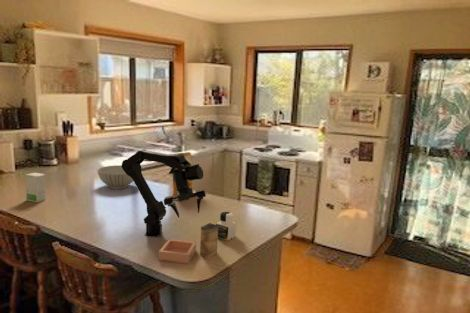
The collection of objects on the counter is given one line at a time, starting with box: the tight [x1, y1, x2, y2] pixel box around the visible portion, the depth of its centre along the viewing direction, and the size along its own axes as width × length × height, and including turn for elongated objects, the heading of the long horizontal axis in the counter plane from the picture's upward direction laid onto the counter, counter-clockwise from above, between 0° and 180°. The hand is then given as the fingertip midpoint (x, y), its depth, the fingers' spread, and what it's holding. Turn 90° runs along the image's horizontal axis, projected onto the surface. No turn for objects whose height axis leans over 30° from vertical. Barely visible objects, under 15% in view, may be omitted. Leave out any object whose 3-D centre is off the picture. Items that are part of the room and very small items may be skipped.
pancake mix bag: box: [171, 151, 193, 197], centre depth 234 cm, size 7×19×28 cm, turn 136°
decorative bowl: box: [96, 164, 134, 190], centre depth 246 cm, size 27×27×12 cm
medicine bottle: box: [215, 211, 237, 241], centre depth 173 cm, size 7×7×12 cm
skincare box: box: [25, 172, 47, 203], centre depth 209 cm, size 8×7×16 cm
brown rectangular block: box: [199, 222, 219, 259], centre depth 154 cm, size 5×6×12 cm
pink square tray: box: [158, 238, 197, 265], centre depth 151 cm, size 12×12×4 cm
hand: (188, 215), depth 164 cm, fingers open, 9 cm apart
